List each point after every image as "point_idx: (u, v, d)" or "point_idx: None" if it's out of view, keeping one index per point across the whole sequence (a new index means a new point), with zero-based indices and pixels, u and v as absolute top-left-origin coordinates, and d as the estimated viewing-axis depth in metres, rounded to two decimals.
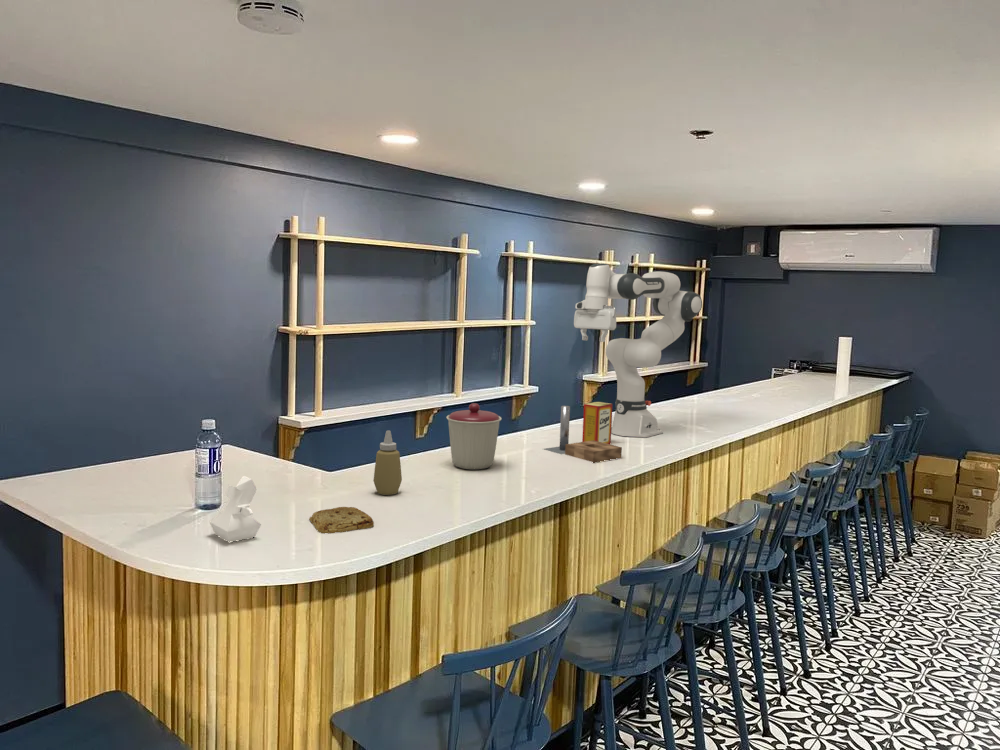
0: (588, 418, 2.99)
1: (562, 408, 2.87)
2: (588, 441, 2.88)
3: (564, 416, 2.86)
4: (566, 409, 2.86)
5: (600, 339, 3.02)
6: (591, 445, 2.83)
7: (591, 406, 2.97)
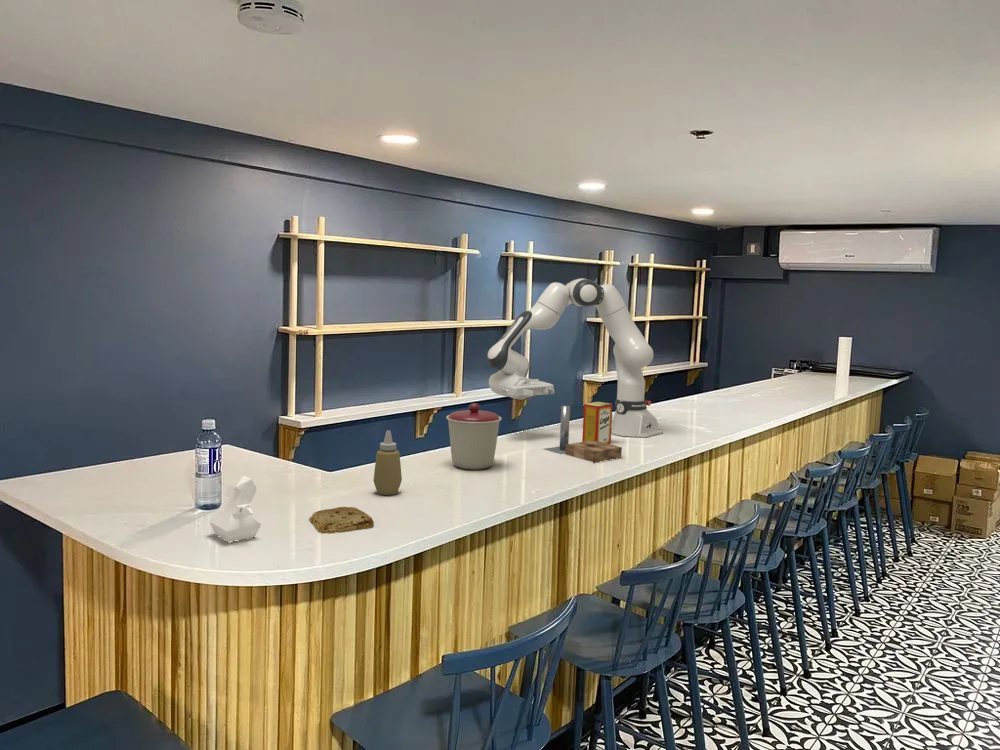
0: (588, 418, 2.99)
1: (562, 408, 2.87)
2: (588, 441, 2.88)
3: (564, 416, 2.86)
4: (566, 409, 2.86)
5: None
6: (591, 445, 2.83)
7: (591, 406, 2.97)
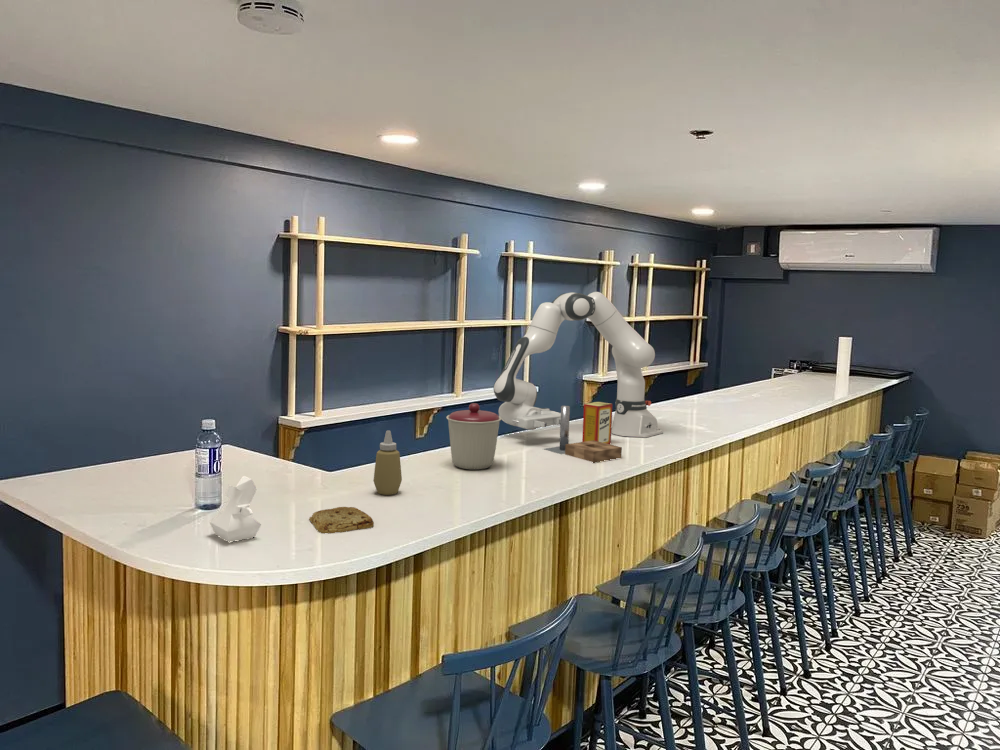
0: (588, 418, 2.99)
1: (562, 408, 2.87)
2: (588, 441, 2.88)
3: (564, 416, 2.86)
4: (566, 409, 2.86)
5: None
6: (591, 445, 2.83)
7: (591, 406, 2.97)
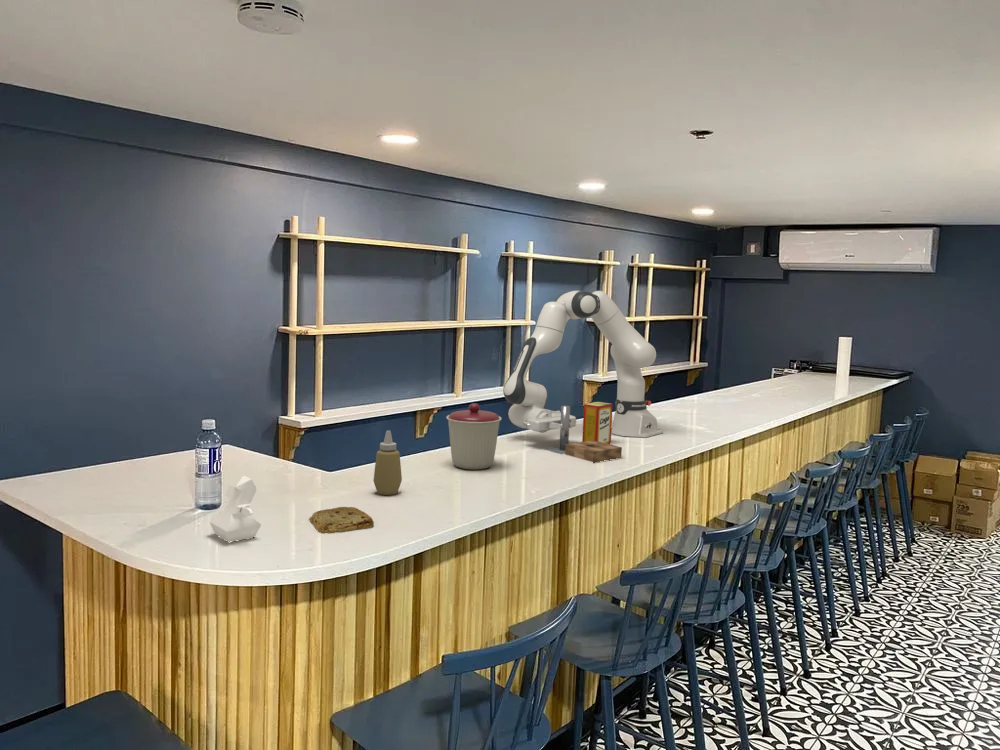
0: (588, 418, 2.99)
1: (562, 408, 2.87)
2: (588, 441, 2.88)
3: (564, 416, 2.86)
4: (566, 409, 2.86)
5: None
6: (591, 445, 2.83)
7: (591, 406, 2.97)
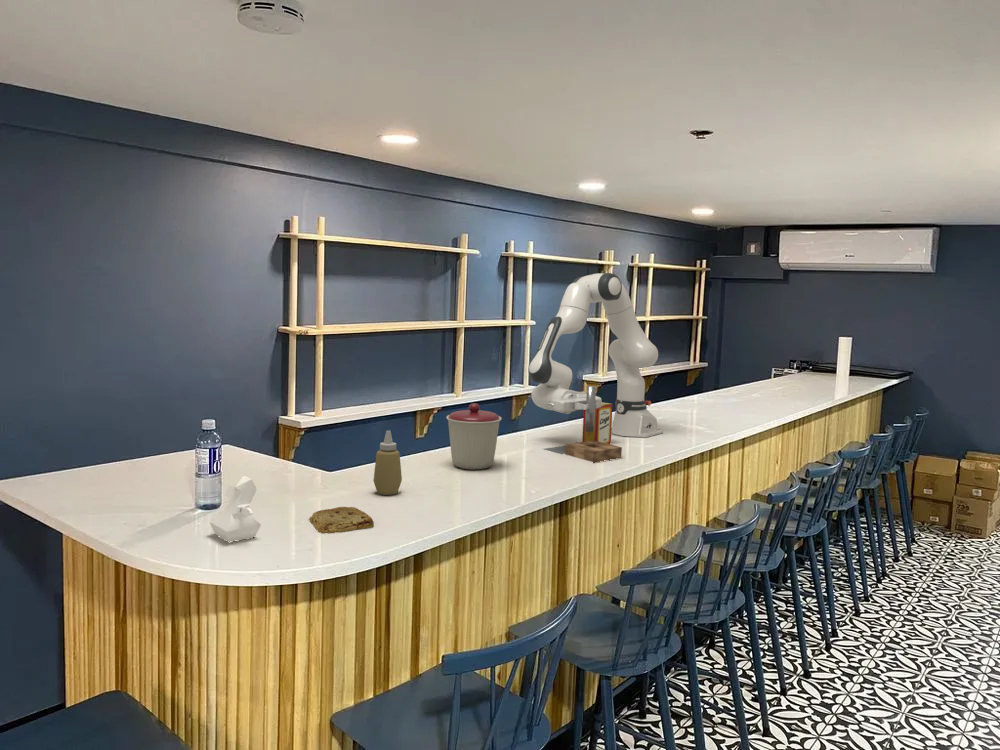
0: None
1: (588, 388, 2.78)
2: (588, 441, 2.88)
3: (590, 397, 2.78)
4: (592, 389, 2.78)
5: (586, 409, 2.79)
6: (591, 445, 2.83)
7: None
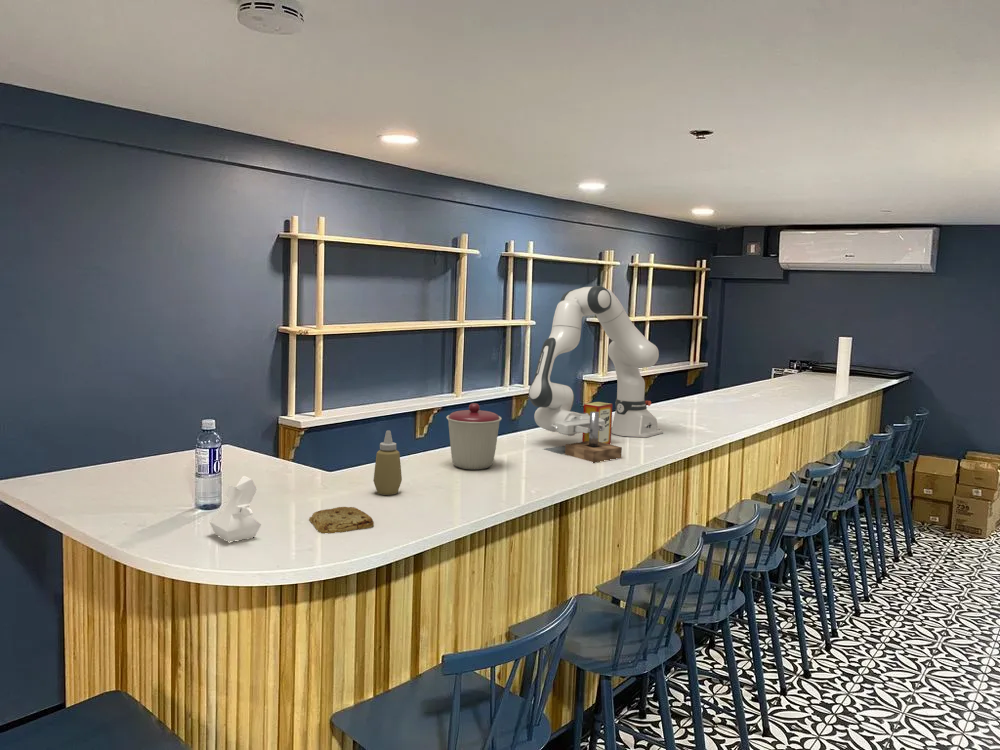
0: None
1: (591, 414, 2.78)
2: (588, 441, 2.88)
3: (593, 423, 2.78)
4: (595, 415, 2.77)
5: None
6: None
7: (591, 406, 2.97)
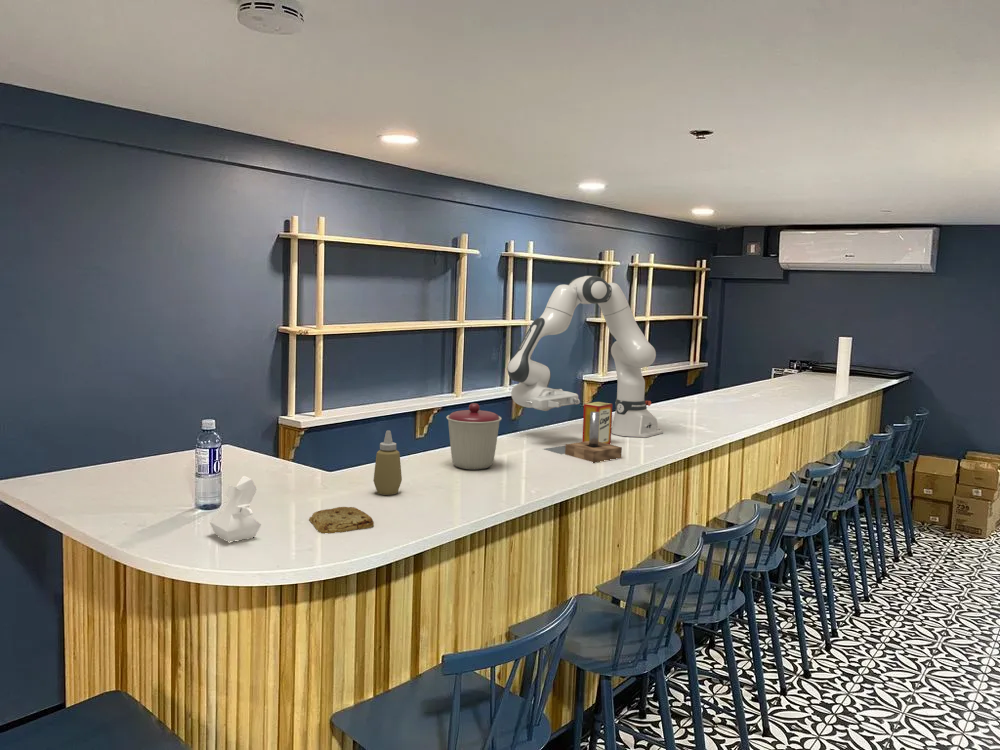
0: (588, 418, 2.99)
1: (592, 414, 2.78)
2: (588, 441, 2.88)
3: (594, 423, 2.78)
4: (596, 415, 2.77)
5: None
6: None
7: (591, 406, 2.97)
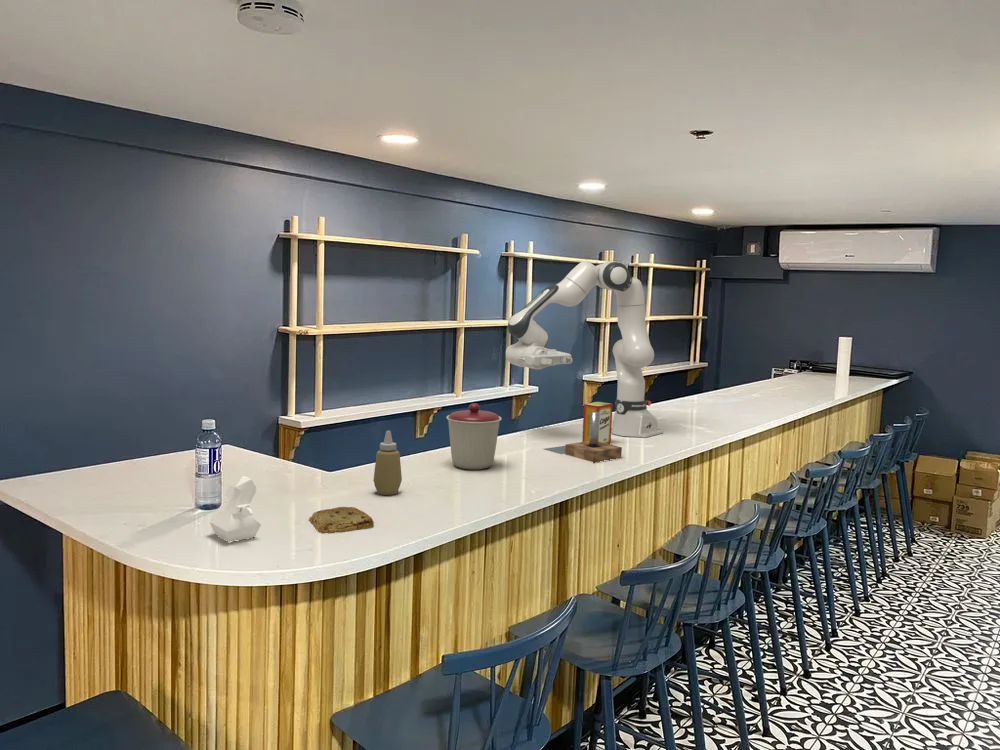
0: (588, 418, 2.99)
1: (591, 414, 2.78)
2: (588, 441, 2.88)
3: (594, 423, 2.78)
4: (596, 415, 2.77)
5: (550, 364, 2.92)
6: None
7: (591, 406, 2.97)
